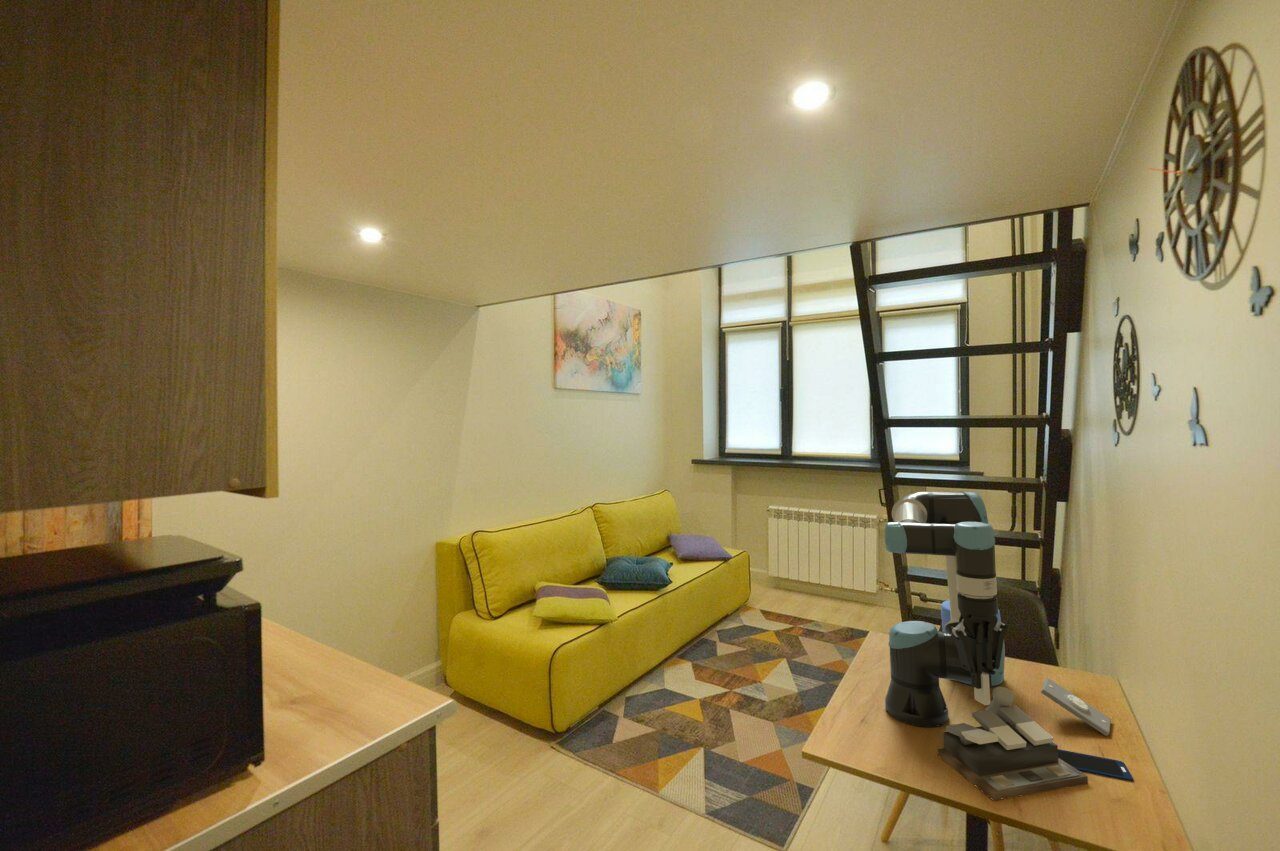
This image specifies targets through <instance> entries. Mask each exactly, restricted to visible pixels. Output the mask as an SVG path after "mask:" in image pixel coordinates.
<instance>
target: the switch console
mask: <svg viewBox="0 0 1280 851" xmlns="http://www.w3.org/2000/svg"><path fill="white" fill-rule="evenodd" d="M1005 723H1006V724H1007V725H1008V726H1009V727H1010V728H1011V726H1012V725H1011V724H1010V723H1009V722H1005ZM975 727H976V728H979V729H982V730H985V729H984V728H983V727H982V726H981V725H979V726H975ZM1019 736H1020V737H1021V738H1022V739H1023V740H1025V741H1026V742H1027V743H1026V747H1023V748H1017V749H1011V750H1006V749H1005V748H1004V747H1003V746H1002V745H1001V744H1000V743H999V742H998V741H997V742H991V743H985V744H977V743H973V744H967V745H964V744H962V742H961V741H960V737H959V736H957V735H954V734H952V733H949V732H947V731H943V733H942V737H943V747H942V748H941V747H940V748H937V757H939V756H940V757H941V758H942V759H941V758H940V757H939V758H940V759H941V760H943V761H944V762H945V763H946V762H947V763H946V764H947V765H949V766H950V767H951V766H952V767H951V768H953V769H954V770H955V771H956V770H957V771H958V772H957V771H956V772H957V773H959V774H960V775H961V774H962V775H963V776H962V775H961V776H962V777H964V778H965V777H966V778H967V779H968V781H969V780H970V781H971V782H972V783H973V784H974V785H973V784H972V783H971V782H970V781H969V782H970V783H971V784H972V785H973V786H975V785H976V786H977V787H978V788H979V789H978V788H977V787H976V786H975V787H976V788H977V789H978V790H979V791H981V790H982V791H983V792H984V793H983V792H982V791H981V792H982V793H983V794H985V793H986V794H987V795H988V796H989V797H990V798H989V797H988V796H987V795H986V794H985V795H986V796H987V797H988V798H989V799H991V798H992V799H993V800H996V801H999V800H998V799H1001V798H1007V799H1009V798H1008V797H1012V798H1016V797H1015V796H1018V797H1021V796H1020V795H1023V796H1027V795H1026V794H1028V795H1032V794H1038V793H1043V792H1049V791H1053V790H1059V789H1064V788H1069V787H1075V786H1080V785H1085V784H1088V783H1089V777H1088V775H1087V774H1085V773H1084V772H1081V771H1079V770H1077V769H1075V768H1074V767H1072V766H1071V765H1069V764H1067V763H1066V762H1064V761H1063V760H1061V759H1059V758H1058V749H1059V747H1058V744H1056V743H1055V742H1054V741H1053V742H1052V743H1046V744H1041V745H1035V746H1034V745H1033V744H1032V743H1031V742H1030V741H1029V740H1028V739H1027V738H1025V737H1024V736H1023V735H1022V734H1019ZM966 778H965V779H966ZM967 779H966V780H967ZM992 799H991V800H992ZM993 800H992V801H993Z"/></svg>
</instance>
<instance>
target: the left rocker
mask: <svg viewBox="0 0 1280 851" xmlns="http://www.w3.org/2000/svg"><path fill="white" fill-rule="evenodd" d="M976 727H977V726H973V725H970V724H967V723H965V722H962V723H961V722H960V723H955V724H948V725H945V729H946V732H949V733H952V734H954V735H957V736H959V737H960V741H961V742H962V744H964V745H967V744H973V743H977V744H985V743H991V742H997V741H999V740H998V736H997V735H996V734H993V733H990V732H987V731H985V730H982V729H979V728H976Z"/></svg>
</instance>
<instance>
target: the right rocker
mask: <svg viewBox="0 0 1280 851" xmlns="http://www.w3.org/2000/svg"><path fill="white" fill-rule="evenodd" d="M998 713H999V714H1000V715H1001V716H1002V717H1003V718H1004V719H1005V720H1007V721H1008V722H1009V723H1010V724H1011V725H1012V726H1011V729H1012V730H1014V731H1015V732H1016V733H1017V734H1018V735H1019V734H1022V735H1023V736H1024V737H1025V738H1027V739H1028V740H1029V741H1030V742H1031V743H1032V744H1033V745H1034V746H1035V745H1041V744H1046V743H1052V742H1053V743H1054V739H1055V738H1054V737H1053V736H1052V735H1051V734H1050V733H1049V732H1048V731H1046V730H1045V729H1044V728H1043V727H1042V726H1041V725H1039V724H1038V723H1037V722H1036V721H1035V720H1033V719H1032V718H1031V717H1030V716H1029V715H1028V714H1026V713H1025V712H1024V711H1023V710H1022V709H1021V708H1019V707H1018V706H1017V705H1016V704H1015V705H1010V706H1008V707H1002V708H998Z"/></svg>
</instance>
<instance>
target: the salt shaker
mask: <svg viewBox="0 0 1280 851" xmlns="http://www.w3.org/2000/svg"><path fill="white" fill-rule="evenodd" d="M1014 695H1015V694H1014V693H1013V692H1012V691H1011V689H1009V688H1007V687H1005V686H999V685H998V686H995V687H994V689H993V690H992V700H990V705H987V707H986V708H985V710H989V709H990V710H992V711H993V712H994V713H995V714H996V715H997V716H998V717H999V718H1000V719H1001V720H1003V721H1004V722H1008V721H1007V720H1005V719H1004V718H1003V717H1002V716H1001V715H1000V714H999V713H998V708H1002V707H1008V706H1012V705H1013V703H1014V700H1015V696H1014Z"/></svg>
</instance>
